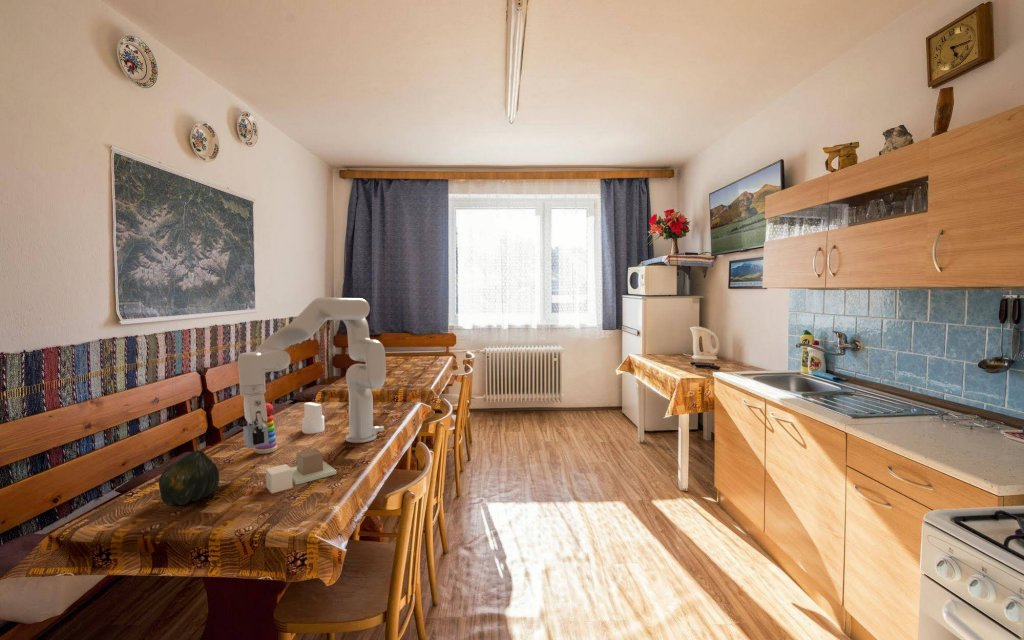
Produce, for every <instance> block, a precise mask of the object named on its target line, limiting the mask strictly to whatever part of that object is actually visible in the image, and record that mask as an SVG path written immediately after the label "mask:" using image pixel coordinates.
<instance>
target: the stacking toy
mask: <svg viewBox="0 0 1024 640" xmlns="http://www.w3.org/2000/svg"><path fill="white" fill-rule="evenodd" d="M265 404H266V412H267V422H264V421H262V422H263V423H264V424H265V425H266V426H268V441H269V444H265V445H261V446H257V447H254V449H253V451H254V453H256V454H258V455H261V454H262V455H265V454H272V453H274V452H275V451H277V450H278V445H277V436H276V431H275V429H276V427H275V425H274V424H275V422H274V415H273V413H274V411H275V410H274V406H273V405H272V403H269V402H265Z"/></svg>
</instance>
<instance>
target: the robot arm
mask: <svg viewBox="0 0 1024 640" xmlns="http://www.w3.org/2000/svg"><path fill="white" fill-rule="evenodd" d="M370 309H371V307H370V304H369V302H368V301H367V300H365V299H364V298H362V297H361V298H360V297H359V298H358V297H325V296H324V297H323V296H322V297H321V296H320V297H317V298H315V299H313V300H312V301H311V302H310V303H309V304H308V305H307V306H306V307H305V308H304V309H303V310H302V311H301V312H300V313H299V314H298V316H296V317H295V318H294V320H292V321H291V322H290V323H289V324H287V325H285V326H283V327H282V328H280V329H278V330H276V331H275V332H274V333H272V334H270V335H269V336H268V337H266V339H265V340H264V341H262V343H261V344H259V346H257V348H256V349H255V350H254V351H247V352H243V353H240V354H239V355H238V356H237V368H238V369H237V370H238V382H239V395H240V396H242V397H243V411H244V413H243V414H244V419H245V420H246V422H247V426H248V425H253V431H254V433H253V444H254V445H257V444H261V443H264V429H263V422H262V421H264V422H267V412H266V404H265V403H266V397H265V395H264V394H265V393H266V392H267V390H266V375H265V373H266V372H279V371H284V370H285V369H287V368H288V367H289V365H290V363H291V360H292V359H291V356H290V354H289V352H287V351H286V350H285V349H287V348H289V347H290V346H293V345H296V344H298V343H301V342H304V341H307V340H309V339H310V338H312V337H313V335H314V334H315V333H316V332H318V330H319V329H320V328H321V327H322V326H323V325H324V324H325V323H326V321H342V322H343V324H344V325H345V327H346V332H347V345H348V350H347V351H348V356H349V358H350V359H351V360H353V361H355V362H361V363H354V364H352V365H350V366H349V368H348V369H347V371H346V373H345V381H346V385H347V390H348V425H349V426H348V430H349V432H348V434H347V435H345V442H348V443H352V444H360V443H368V442H371V441H374V440H375V439H377V438H378V435H377V433H378V432H381V431H384V430H385V427H384V426H383V425H380V426H379V425H375V426H374V414H373V413H374V411H373V410H374V408H373V407H374V405H373V404H374V402H373V401H374V399H373V397H374V396H373V392H372V390H378V389H380V388H382V387H383V385H384V384H385V382H386V379H387V378H386V377H387V367H386V366H387V365H386V363H387V362H386V351H385V350H386V349H385V347H384V345H383V343H382V342H381V341H379V340H377V339H373V338H372V339H371V338H370V329H369V324H368V323H369V322H368V319H367V318H366V317H368V315H369V314H370ZM363 362H364V363H365V364H364V363H363ZM255 425H258V426H256V427H255Z"/></svg>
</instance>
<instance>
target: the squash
mask: <svg viewBox="0 0 1024 640" xmlns="http://www.w3.org/2000/svg"><path fill="white" fill-rule="evenodd" d="M219 484H220V472H219V469H218V466H217V465H216V464H215V462H213V460H211V459H210V457H209V456H207V455H206V453H205V452H204V451H203V450H201V449H199V450H195V451H194V450H193V451H191V452H189V453H187V454H185V455H184V456H182V457H181V458H179V459H177V460H176V461H174V462H173V463H171V464H170V465H168V466H167V467H165V469H164V470H163V471H162V472H161V475H160V477H159V479H158V490H159V493H160V498H161V500H162V503H164V504H165V505H167V506H170V507H171V506H177V505H180V506H184V505H187V504H188V503H189V502H190V501H192V502H195V501H199V500H200V499H203V498H206V497H208V496H211V495H213V494H214V493H215V492H216V490H218V487H219Z"/></svg>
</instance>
